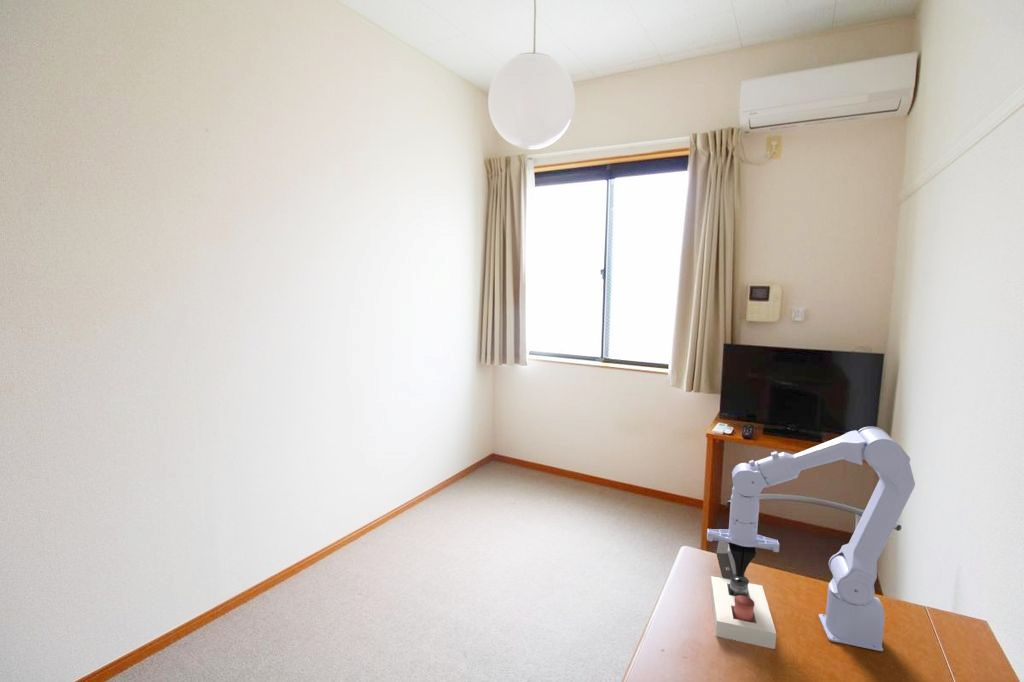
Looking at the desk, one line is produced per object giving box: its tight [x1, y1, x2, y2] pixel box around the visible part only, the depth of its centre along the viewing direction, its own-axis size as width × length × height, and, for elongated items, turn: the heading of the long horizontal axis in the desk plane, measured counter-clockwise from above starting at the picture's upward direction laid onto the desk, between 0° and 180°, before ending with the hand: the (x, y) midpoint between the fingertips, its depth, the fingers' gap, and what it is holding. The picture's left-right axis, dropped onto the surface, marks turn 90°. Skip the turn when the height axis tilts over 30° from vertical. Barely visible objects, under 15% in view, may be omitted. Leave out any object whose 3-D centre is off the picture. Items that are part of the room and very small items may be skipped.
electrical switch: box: [715, 541, 736, 580], centre depth 120 cm, size 9×5×9 cm, turn 152°
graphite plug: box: [730, 574, 750, 597], centre depth 109 cm, size 4×4×4 cm
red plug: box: [734, 595, 754, 623], centre depth 101 cm, size 4×4×4 cm
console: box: [709, 575, 777, 650], centre depth 105 cm, size 11×16×4 cm
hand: (739, 574), depth 108 cm, fingers closed
